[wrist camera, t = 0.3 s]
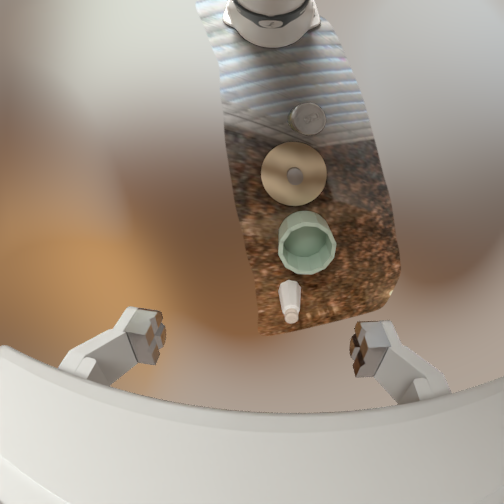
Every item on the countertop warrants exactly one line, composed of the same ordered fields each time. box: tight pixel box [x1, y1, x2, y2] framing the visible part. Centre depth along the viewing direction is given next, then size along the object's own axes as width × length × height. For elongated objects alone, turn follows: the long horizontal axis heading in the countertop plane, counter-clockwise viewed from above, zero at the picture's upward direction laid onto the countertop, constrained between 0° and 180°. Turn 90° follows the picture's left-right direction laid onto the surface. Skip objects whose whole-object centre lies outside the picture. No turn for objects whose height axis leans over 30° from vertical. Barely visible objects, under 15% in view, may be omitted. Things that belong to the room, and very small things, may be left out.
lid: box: [261, 142, 327, 206], centre depth 51 cm, size 13×13×4 cm
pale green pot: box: [278, 211, 336, 274], centre depth 55 cm, size 11×11×7 cm
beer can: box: [288, 102, 326, 136], centre depth 42 cm, size 5×5×12 cm
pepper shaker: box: [278, 280, 301, 324], centre depth 59 cm, size 5×5×11 cm
